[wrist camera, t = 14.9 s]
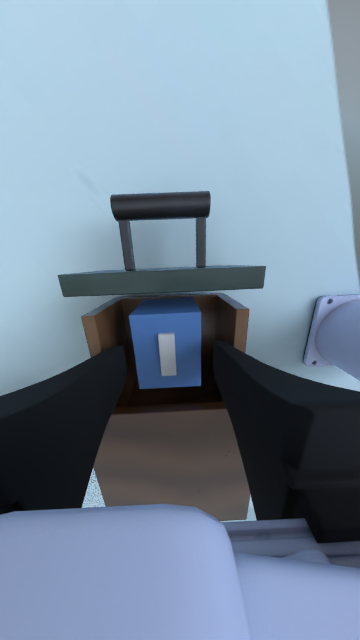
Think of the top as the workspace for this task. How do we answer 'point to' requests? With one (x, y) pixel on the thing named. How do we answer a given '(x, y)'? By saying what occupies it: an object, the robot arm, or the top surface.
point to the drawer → (216, 309)
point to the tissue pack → (167, 342)
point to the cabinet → (173, 459)
